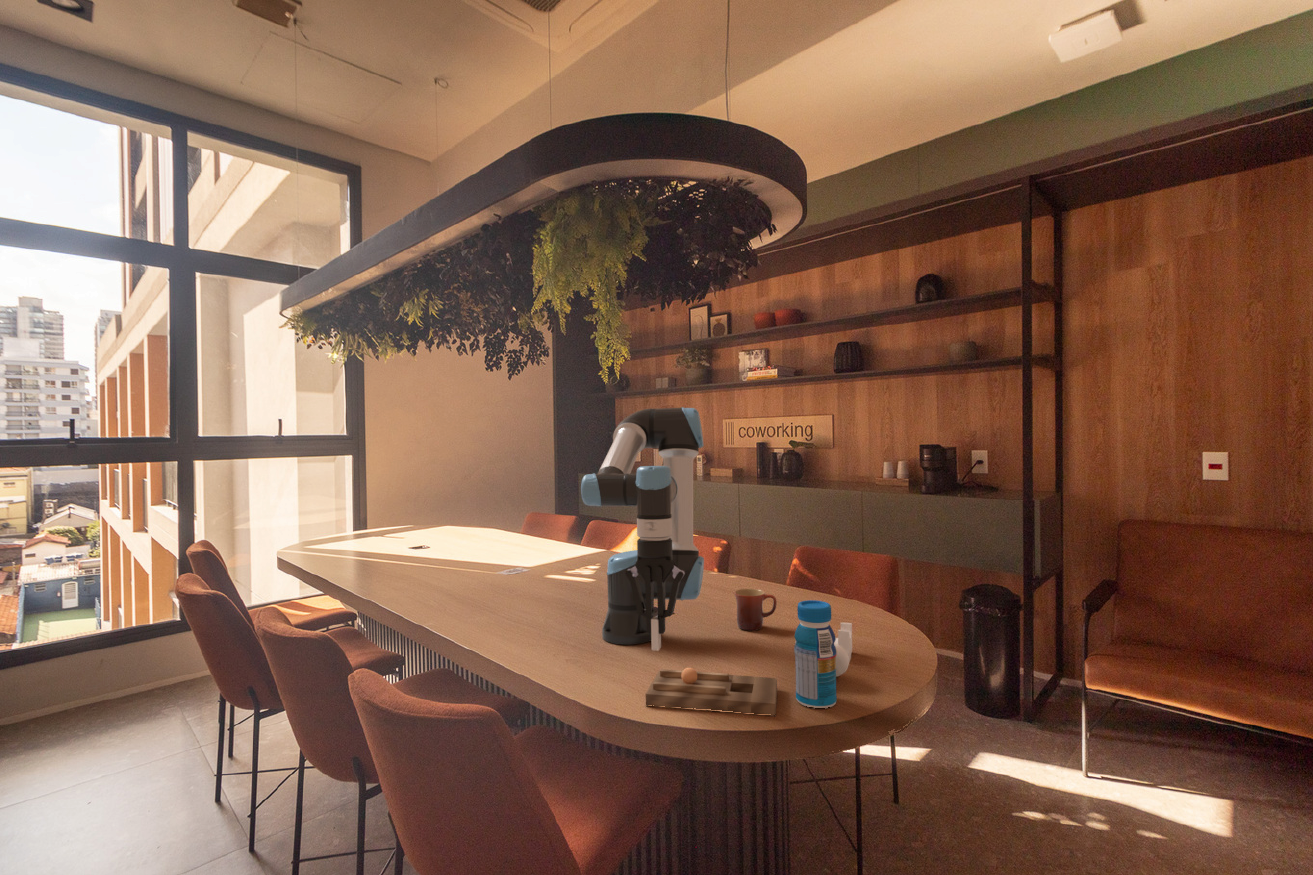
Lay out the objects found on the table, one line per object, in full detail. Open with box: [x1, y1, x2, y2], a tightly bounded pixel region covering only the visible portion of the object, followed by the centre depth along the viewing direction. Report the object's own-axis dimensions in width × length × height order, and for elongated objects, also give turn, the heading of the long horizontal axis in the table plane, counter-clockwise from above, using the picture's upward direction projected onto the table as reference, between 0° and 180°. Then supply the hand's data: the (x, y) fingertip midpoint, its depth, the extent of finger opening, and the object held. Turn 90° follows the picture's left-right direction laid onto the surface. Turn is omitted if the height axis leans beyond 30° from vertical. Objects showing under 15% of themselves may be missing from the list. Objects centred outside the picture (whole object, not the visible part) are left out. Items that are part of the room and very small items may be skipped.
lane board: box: [645, 668, 778, 716], centre depth 127 cm, size 26×13×4 cm, turn 77°
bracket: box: [794, 622, 853, 663], centre depth 152 cm, size 13×7×8 cm, turn 67°
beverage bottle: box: [793, 599, 837, 709], centre depth 124 cm, size 8×8×20 cm
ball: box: [681, 667, 698, 684], centre depth 128 cm, size 3×3×3 cm
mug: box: [733, 588, 778, 632], centre depth 174 cm, size 12×9×10 cm
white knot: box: [834, 643, 850, 678], centre depth 136 cm, size 11×12×9 cm
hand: (656, 648), depth 129 cm, fingers closed
